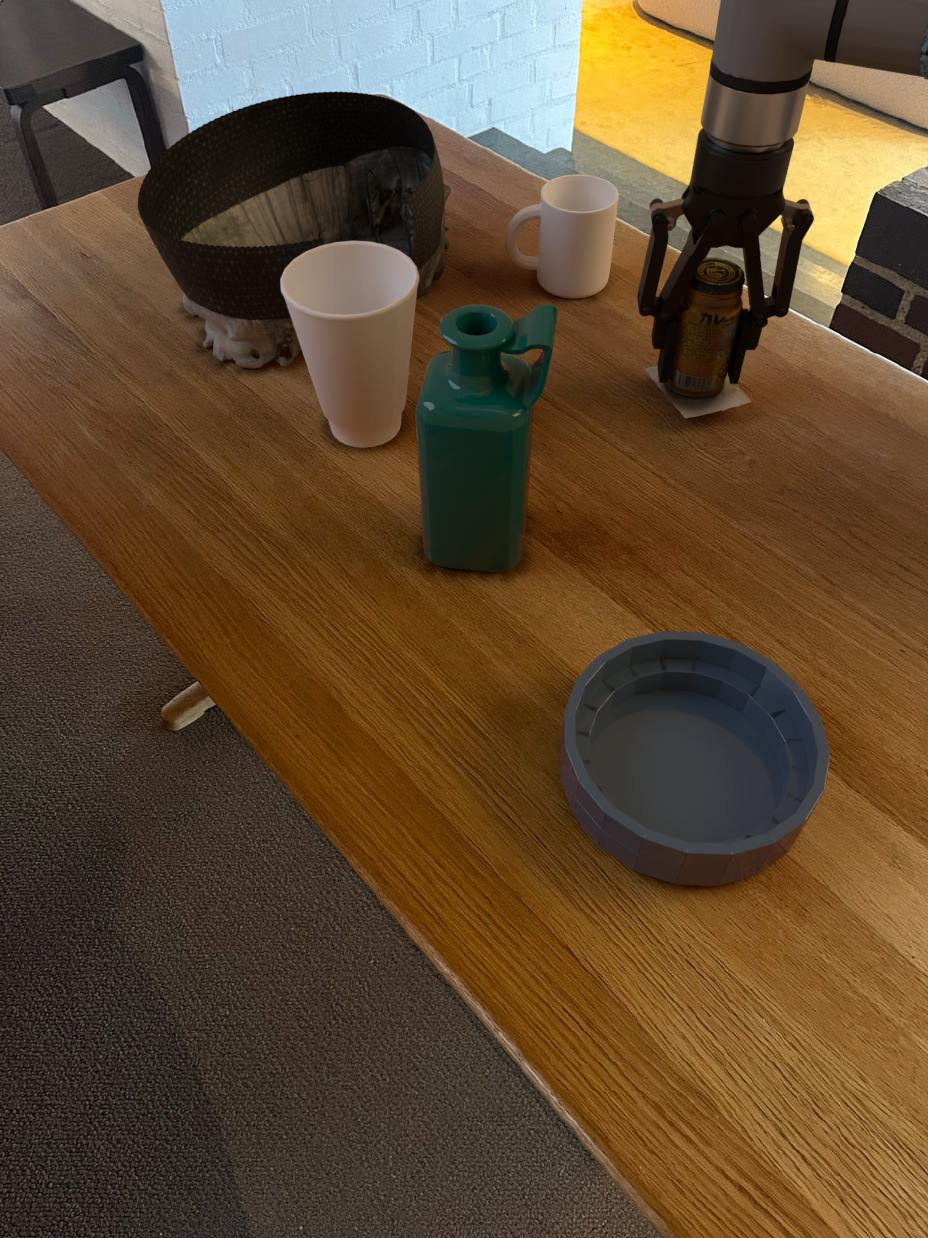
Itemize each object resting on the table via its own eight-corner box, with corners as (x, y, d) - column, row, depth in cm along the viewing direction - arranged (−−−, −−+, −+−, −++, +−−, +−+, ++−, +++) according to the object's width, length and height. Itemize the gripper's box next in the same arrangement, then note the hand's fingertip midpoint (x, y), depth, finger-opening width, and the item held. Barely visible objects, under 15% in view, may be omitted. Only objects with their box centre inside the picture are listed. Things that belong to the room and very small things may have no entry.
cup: (369, 371, 99) (354, 225, 87) (451, 422, 94) (448, 274, 82) (280, 425, 94) (250, 277, 81) (361, 483, 89) (343, 334, 76)
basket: (519, 327, 104) (525, 180, 91) (200, 409, 96) (159, 259, 83) (424, 206, 120) (418, 67, 108) (145, 267, 112) (104, 124, 99)
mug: (505, 302, 107) (507, 214, 99) (501, 262, 112) (503, 175, 104) (612, 300, 107) (623, 211, 99) (604, 260, 112) (613, 172, 104)
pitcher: (420, 568, 82) (406, 349, 65) (435, 499, 87) (426, 280, 70) (534, 579, 81) (550, 361, 64) (543, 509, 86) (560, 290, 69)
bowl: (784, 678, 74) (803, 634, 70) (828, 895, 63) (854, 859, 59) (556, 671, 75) (561, 627, 71) (561, 885, 64) (567, 848, 60)
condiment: (708, 354, 98) (731, 244, 89) (751, 403, 93) (780, 292, 84) (643, 370, 96) (660, 260, 87) (684, 421, 91) (706, 310, 82)
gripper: (859, 110, 78) (789, 352, 95) (623, 110, 78) (597, 350, 96) (880, 153, 73) (802, 400, 91) (629, 153, 74) (600, 397, 92)
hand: (697, 374), depth 93 cm, fingers closed on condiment, 6 cm apart
